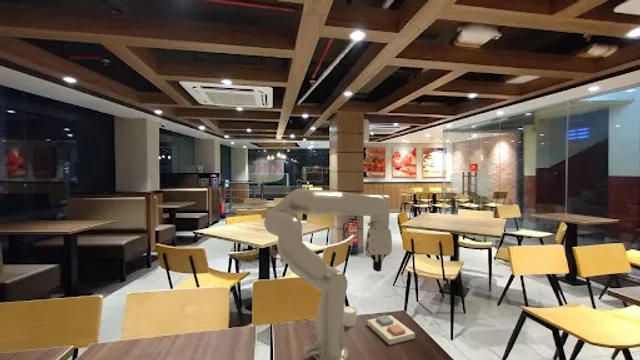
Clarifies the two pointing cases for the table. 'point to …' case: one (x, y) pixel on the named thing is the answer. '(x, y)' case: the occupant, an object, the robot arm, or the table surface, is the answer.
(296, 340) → the table surface
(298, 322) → the table surface
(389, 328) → the key terracotta
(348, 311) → the shot glass
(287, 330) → the table surface
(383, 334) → the board
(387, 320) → the key slate
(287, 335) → the table surface
